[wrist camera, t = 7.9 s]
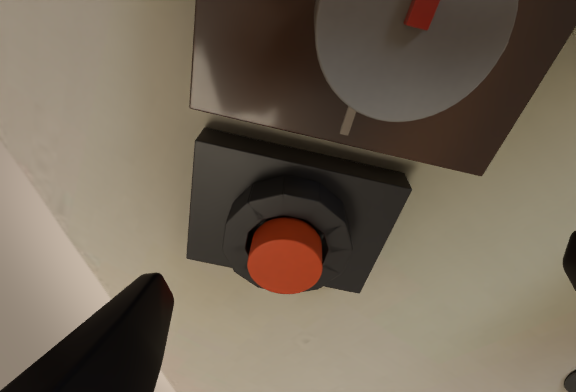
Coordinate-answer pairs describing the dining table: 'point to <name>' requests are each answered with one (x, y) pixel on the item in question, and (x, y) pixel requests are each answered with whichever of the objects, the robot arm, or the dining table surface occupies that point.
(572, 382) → the sundae
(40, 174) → the dining table surface
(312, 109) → the dial panel
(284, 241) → the red button
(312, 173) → the button box
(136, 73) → the dining table surface
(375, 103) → the dial
